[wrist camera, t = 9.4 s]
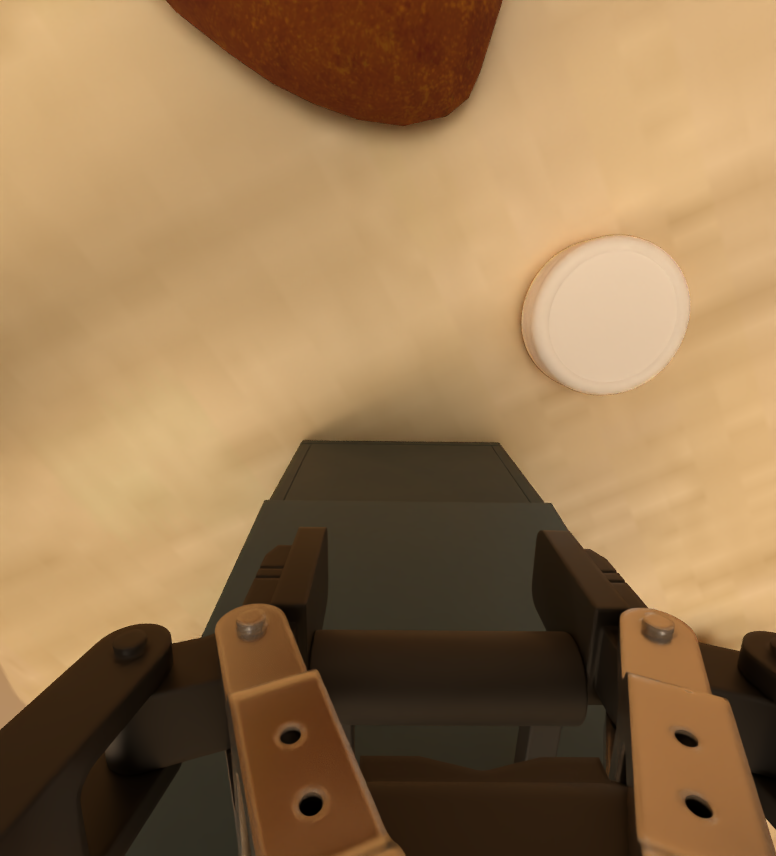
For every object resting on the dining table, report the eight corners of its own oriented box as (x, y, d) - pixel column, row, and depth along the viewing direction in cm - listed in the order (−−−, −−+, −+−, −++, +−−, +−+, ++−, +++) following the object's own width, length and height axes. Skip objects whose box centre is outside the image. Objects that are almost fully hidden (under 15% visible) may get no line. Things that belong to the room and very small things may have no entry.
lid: (797, 935, 10) (899, 747, 8) (81, 934, 10) (12, 743, 8) (549, 516, 26) (564, 415, 24) (265, 513, 25) (256, 411, 24)
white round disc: (500, 367, 35) (512, 375, 32) (546, 221, 33) (565, 214, 29) (631, 401, 36) (657, 413, 33) (687, 261, 33) (721, 258, 30)
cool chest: (485, 623, 41) (522, 743, 30) (308, 622, 41) (280, 742, 30) (499, 442, 37) (547, 505, 26) (302, 440, 37) (267, 503, 26)
